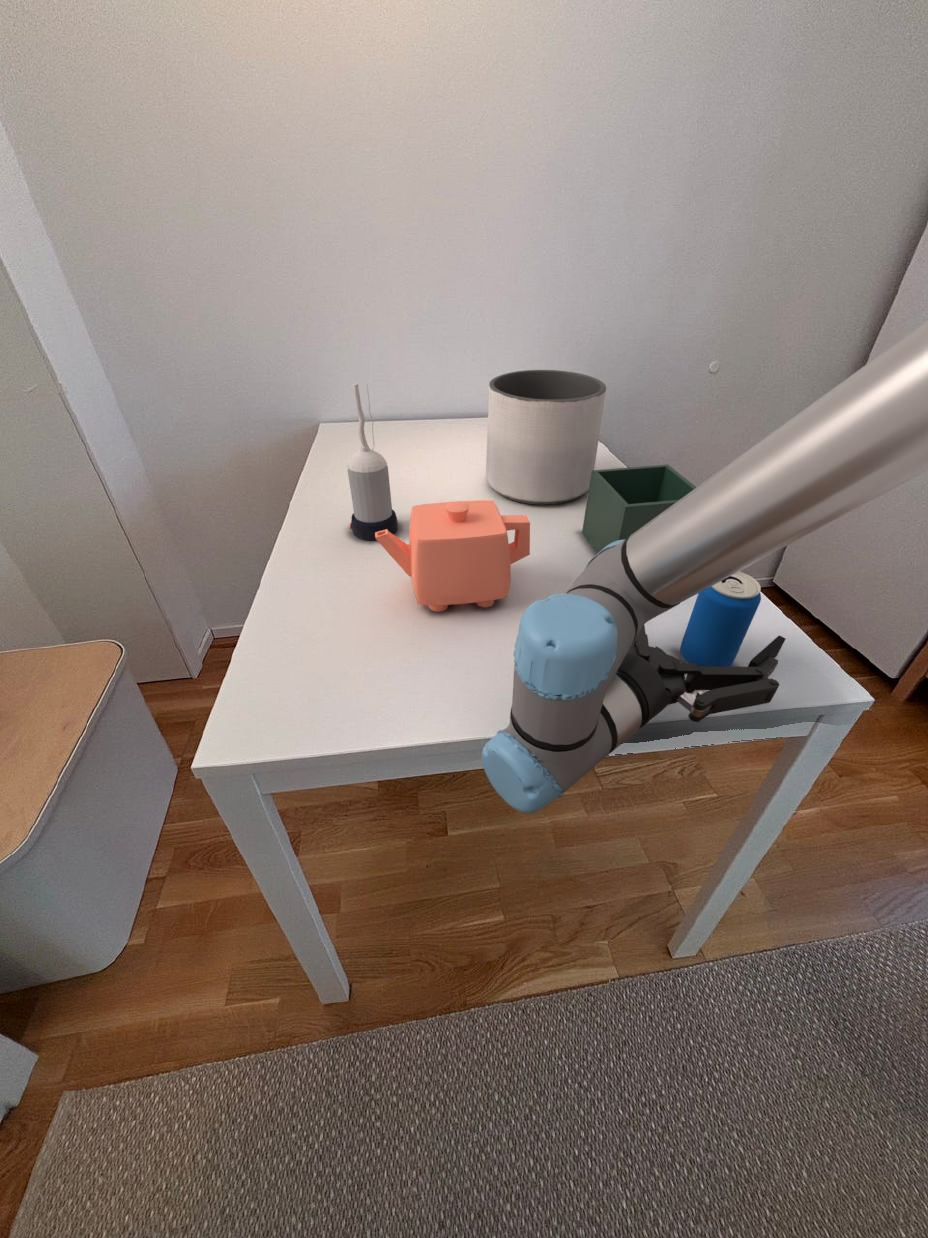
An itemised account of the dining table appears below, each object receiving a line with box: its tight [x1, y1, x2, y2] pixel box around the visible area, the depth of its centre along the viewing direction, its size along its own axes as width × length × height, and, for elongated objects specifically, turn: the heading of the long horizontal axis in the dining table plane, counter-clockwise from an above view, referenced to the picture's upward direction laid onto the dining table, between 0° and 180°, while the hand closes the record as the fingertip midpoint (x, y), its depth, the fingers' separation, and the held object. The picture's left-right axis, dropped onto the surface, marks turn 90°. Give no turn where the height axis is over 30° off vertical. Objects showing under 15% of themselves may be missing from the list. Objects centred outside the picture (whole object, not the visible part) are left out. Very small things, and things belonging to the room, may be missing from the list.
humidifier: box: [347, 383, 399, 542], centre depth 86 cm, size 8×8×25 cm
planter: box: [485, 369, 607, 506], centre depth 103 cm, size 22×22×20 cm
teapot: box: [375, 499, 531, 612], centre depth 75 cm, size 22×13×14 cm, turn 98°
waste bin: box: [581, 463, 698, 555], centre depth 85 cm, size 14×14×12 cm
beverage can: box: [679, 571, 762, 667], centre depth 63 cm, size 6×6×12 cm
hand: (722, 617), depth 63 cm, fingers open, 13 cm apart
